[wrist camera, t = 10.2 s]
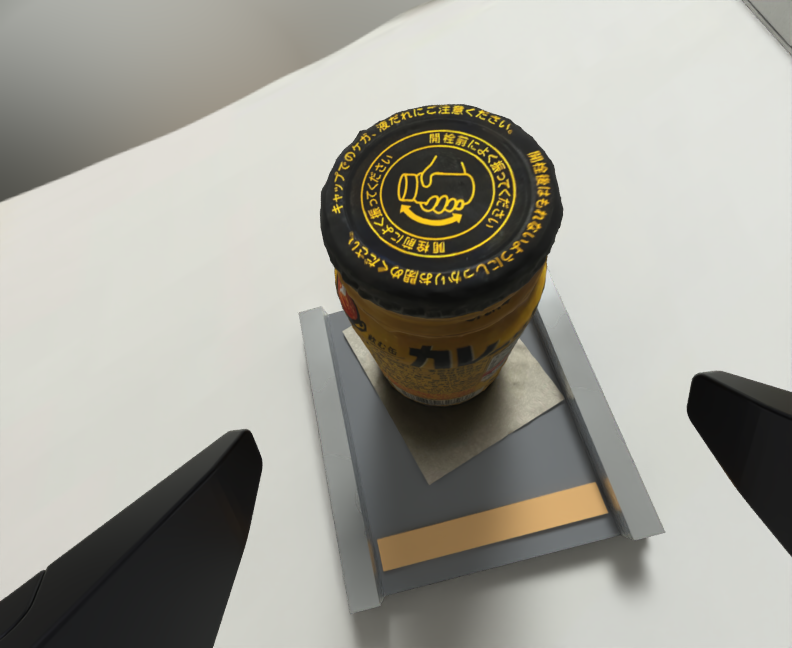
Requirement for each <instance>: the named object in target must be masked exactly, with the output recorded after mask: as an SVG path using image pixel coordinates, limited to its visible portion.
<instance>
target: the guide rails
mask: <svg viewBox="0 0 792 648" xmlns="http://www.w3.org/2000/svg"><path fill="white" fill-rule="evenodd" d="M299 318H300V324H301V330H302V335H303V341H304V347H305V353H306V359H307V365H308V370H309V376H310V382H311V388H312V394H313V400H314V406H315V411H316V417H317V423H318V429H319V435H320V441H321V446H322V452H323V458H324V464H325V470H326V476H327V482H328V487H329V493H330V499H331V505H332V511H333V517H334V522H335V528H336V534H337V540H338V546H339V552H340V558H341V563H342V569H343V575H344V581H345V587H346V593H347V598H348V604H349V610H350V614H352V613H356V612H360V611H364V610H368V609H372V608H375V607H379V606H380V605H381V603H382V601H383V599H384V591H383V586H382V581H381V576H380V571H379V566H378V561H377V556H376V551H375V546H374V541H373V536H372V531H371V526H370V521H369V516H368V511H367V506H366V501H365V496H364V491H363V486H362V481H361V476H360V471H359V466H358V461H357V456H356V451H355V446H354V441H353V436H352V431H351V426H350V421H349V416H348V411H347V406H346V401H345V396H344V391H343V386H342V381H341V376H340V371H339V366H338V361H337V356H336V351H335V346H334V341H333V336H332V332H331V327H330V322H329V317H328V314H327V313H326V311H325V310H324V309H323V308H322V306H321V307H317V308H314V309H310V310H307V311H303V312H299ZM532 318H533V321H534V323H535V326H536V328H537V331H538V333H539V335H540V338H541V340H542V343H543V345H544V348H545V350H546V353H547V355H548V358H549V360H550V362H551V365H552V367H553V370H554V372H555V375H556V377H557V380H558V382H559V385H560V387H561V390H562V392H563V394H564V397H565V399H566V402H567V404H568V407H569V409H570V412H571V414H572V417H573V419H574V421H575V424H576V426H577V429H578V431H579V434H580V436H581V439H582V441H583V444H584V446H585V448H586V451H587V453H588V456H589V458H590V461H591V463H592V466H593V468H594V471H595V473H596V475H597V478H598V480H599V483H600V485H601V488H602V490H603V493H604V495H605V498H606V500H607V502H608V505H609V507H610V510H611V512H612V515H613V517H614V520H615V522H616V525H617V527H618V530H619V532H620V534H621V535H622V536H625V537H627V538H629V539H632V540H634V541H635V540H639V539H643V538H646V537H650V536H654V535H658V534H662V533H665V531H664V528H663V526H662V524H661V522H660V519H659V517H658V515H657V513H656V510H655V508H654V506H653V504H652V501H651V499H650V497H649V495H648V492H647V490H646V488H645V486H644V483H643V481H642V479H641V477H640V474H639V472H638V470H637V468H636V465H635V463H634V461H633V459H632V456H631V454H630V452H629V450H628V447H627V445H626V443H625V441H624V438H623V436H622V434H621V432H620V429H619V427H618V425H617V423H616V420H615V418H614V416H613V414H612V411H611V409H610V407H609V405H608V402H607V400H606V398H605V396H604V393H603V391H602V389H601V387H600V385H599V382H598V380H597V378H596V376H595V373H594V371H593V369H592V367H591V364H590V362H589V360H588V358H587V355H586V353H585V351H584V349H583V346H582V344H581V342H580V340H579V337H578V335H577V333H576V331H575V328H574V326H573V324H572V322H571V319H570V317H569V315H568V313H567V310H566V308H565V306H564V304H563V301H562V299H561V297H560V295H559V292H558V290H557V288H556V286H555V283H554V281H553V279H552V277H551V274H550V272H549V270H548V268H547V272H546V282H545V288H544V290H543V293H542V296H541V299H540V302H539V304H538V307H537V310H536V312H535V314H534V316H533V317H532Z"/></svg>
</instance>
